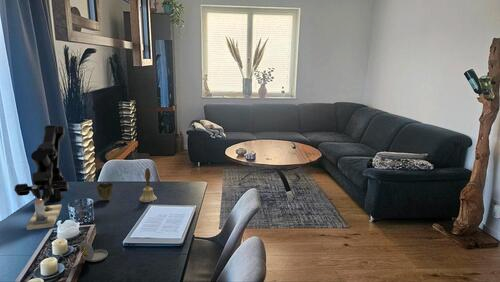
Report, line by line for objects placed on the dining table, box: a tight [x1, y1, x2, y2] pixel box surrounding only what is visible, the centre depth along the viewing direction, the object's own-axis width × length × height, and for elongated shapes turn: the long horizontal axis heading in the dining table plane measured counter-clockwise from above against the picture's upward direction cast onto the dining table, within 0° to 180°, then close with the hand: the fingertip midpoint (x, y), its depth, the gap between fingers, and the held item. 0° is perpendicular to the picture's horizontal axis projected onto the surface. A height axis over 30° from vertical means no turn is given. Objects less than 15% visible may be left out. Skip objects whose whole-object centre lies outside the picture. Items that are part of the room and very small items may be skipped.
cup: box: [96, 181, 114, 202], centre depth 160 cm, size 8×7×8 cm
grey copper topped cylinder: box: [34, 198, 48, 224], centre depth 132 cm, size 4×4×10 cm
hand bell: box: [138, 167, 158, 203], centre depth 162 cm, size 8×8×16 cm
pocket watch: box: [79, 234, 109, 263], centre depth 111 cm, size 8×8×10 cm
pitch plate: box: [26, 204, 63, 231], centre depth 140 cm, size 20×9×3 cm, turn 20°
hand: (41, 206), depth 134 cm, fingers closed, pressing on grey copper topped cylinder
